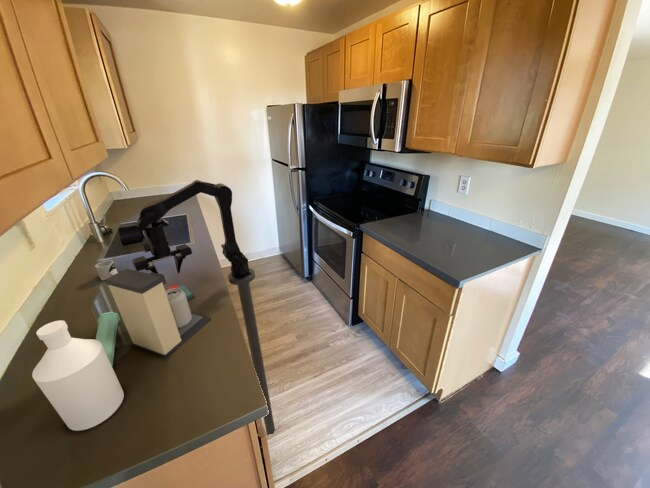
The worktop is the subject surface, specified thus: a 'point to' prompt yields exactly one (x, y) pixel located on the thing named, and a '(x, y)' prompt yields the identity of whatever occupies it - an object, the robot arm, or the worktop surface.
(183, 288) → the control block
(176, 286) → the button
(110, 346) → the container
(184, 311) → the can
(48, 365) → the bottle
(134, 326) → the coffee maker
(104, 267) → the mug
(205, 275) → the worktop surface
